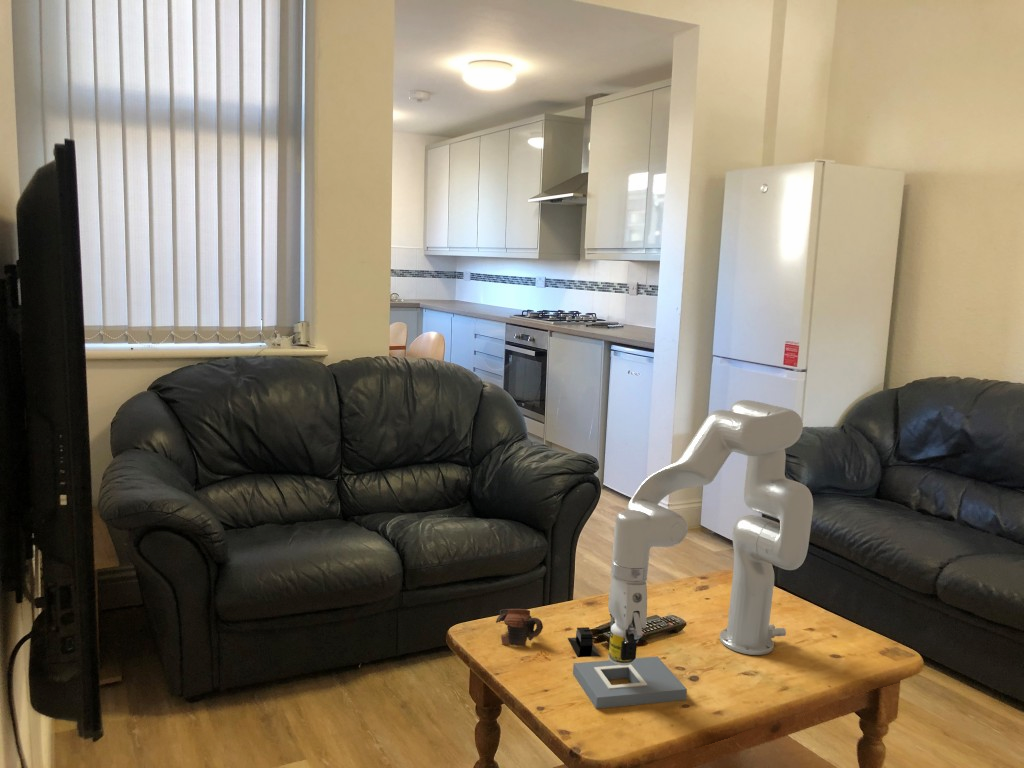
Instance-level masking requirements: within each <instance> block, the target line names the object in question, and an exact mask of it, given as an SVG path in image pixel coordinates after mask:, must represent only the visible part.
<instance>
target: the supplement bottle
mask: <svg viewBox="0 0 1024 768" xmlns="http://www.w3.org/2000/svg"><path fill="white" fill-rule="evenodd" d="M632 626H633V624H630V625H629V626H628V627H632ZM610 628H611V633H610V632H609V638H610V645H609V646H608V647H609V648H608V659H609V660H610V661H611V662H613V663H615V664H617V665H622V666H625V665H630V664H632V663H633V662H634V660H621V658H620V657H621V646H622V641H624V633H623V627H622V626H621V625H620V624H619V623H618V622H617V620H616V618H615V623H614V624H613V625H612V626H610ZM632 633H633V630H628V636H629V635H630V634H632Z"/></svg>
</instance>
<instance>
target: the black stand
mask: <svg viewBox="0 0 1024 768" xmlns="http://www.w3.org/2000/svg"><path fill="white" fill-rule="evenodd" d="M567 640H568V642H569V645H571V648H572V650H573V652H574V653H575V656H576V657H577V658H593V657H594V658H595V657H597V658H599V657H600V658H601V654H600V653H599V651H598V649H597V648H596V646H595V643H594V634H593V632H592V631H591V629H590V627H589V626H585V627H577V628H576V631H575V637H567Z"/></svg>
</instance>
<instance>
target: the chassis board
mask: <svg viewBox="0 0 1024 768" xmlns="http://www.w3.org/2000/svg"><path fill="white" fill-rule="evenodd" d="M572 667H573V668H572V675H573V676H574V678H575V679H576V680H577V682H578V684H579V685H580V687H581V688H582V690H583V691H584V693H585V694H586V696H587V697H588V699H589V700H590V702H591V703H592V705H593V707H594V708H595V709H597V710H598V709H608V708H617V707H618V708H619V707H626V706H636V705H645V704H646V705H647V704H649V705H650V704H659V703H668V702H678V701H679V702H680V701H687V693H688V689H687V687H686V686H685V685H684V684H683V683H682V682H681V681H680V680H679V678H677V676H676V675H675V674H674V673H673V672H672V671H671V669H669V667H668V666H667V665H666V664H665V663H664V662H663V660H662V659H661V658H660V657H659V656H658V655H657V656H646V657H636V658H635V659H634V662H633V663H632V664H630V665H625V666H622V665H617V664H615V663H613V662H611V661H610V660H595V661H585V662H583V661H582V662H573V666H572ZM618 679H619V680H621V679H628V681H629V682H630V683H621V684H611V682H610V680H618Z"/></svg>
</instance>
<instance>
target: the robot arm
mask: <svg viewBox="0 0 1024 768" xmlns="http://www.w3.org/2000/svg"><path fill="white" fill-rule="evenodd" d="M803 425H804V423H803V419H802V418H801V416H800V414H799V413H798V412H797V411H795V410H793V409H790V408H787V407H782V406H778V405H772V404H769V403H765V402H760V401H755V400H748V399H747V400H745V399H743V400H738V401H735V402H734V403H733V404H732V406H731V407H730V410H727V409H726V410H724V409H717V410H714V411H712V412H711V413H710V414H708V415H707V416H706V417H705V419H704V421H703V422H702V424H701V425H700V426H699V428H698V430H697V431H696V433H695V435H694V436H693V438H692V439H690V441H689V444H688V445H687V446H686V448H685V449H684V450H683V452H682V454H681V455H680V457H679V458H678V459H677V460H675V461H674V462H672V463H670V464H668V465H666V466H664V467H662V468H660V469H659V470H657V471H656V472H654V473H652V474H651V475H649V476H647V478H646V479H644V480H643V482H641V484H640V485H639V486H638V488H637V489H636V491H635V492H634V494H633V495H632V497H631V498H630V500H629V502H628V503H627V505H626V507H625V510H621V511H619V512H618V513H617V515H615V516H616V517H615V523H614V534H613V543H612V547H613V548H612V557H611V565H610V566H611V569H610V576H611V580H610V585H609V593H608V604H607V605H608V606H607V609H608V612H609V616H610V621H609V626H610V629H609V634H610V633H611V626H612V625H613V624H614V623H615V618H616V620H617V622H618V623H619V624H620V625H621V626H622V627H623V633H624V641H622V646H621V657H620V658H621V660H634V659H635V658H637V649H638V648H637V646H638V643H639V640H640V638H642V637H643V630H644V629H645V628H646V627H647V619H648V618H647V615H648V586H647V581H648V573H649V571H648V570H649V562H650V551H651V548H655V547H659V548H670V547H671V548H672V547H675V546H677V545H679V544H681V543H682V542H683V541H684V540H685V538H686V537H687V535H688V531H689V530H688V529H689V528H688V526H689V525H688V523H687V520H686V518H685V517H684V516H682V515H681V514H680V513H678V512H676V511H674V510H671V509H669V508H667V507H664V506H662V505H659V504H660V502H662V500H664V499H665V498H666V497H667V496H669V495H670V494H672V493H675V492H676V491H680V490H684V489H691V488H697V487H702V486H707V485H710V484H711V483H712V482H713V481H714V479H715V478H716V477H717V475H718V474H719V471H721V469H722V468H723V466H724V464H726V463H725V462H726V461H727V459H728V458H729V457H730V455H731V454H733V453H737V454H740V455H744V456H747V457H746V458H747V462H746V470H745V471H746V472H745V480H744V481H745V482H744V488H743V490H744V491H743V499H744V500H743V501H744V504H745V505H746V507H748V509H750V510H753V511H755V512H757V513H759V514H761V515H764V516H768V517H771V518H774V519H776V520H778V521H779V522H777V521H775V520H771V519H769V518H766V517H763V516H761V515H755V514H746V515H744V516H742V517H740V518H739V519H738V520H737V521H736V522H735V524H734V526H733V530H732V545H733V547H732V548H733V571H732V580H731V589H730V598H729V599H730V600H729V607H728V608H729V609H728V617H727V618H728V619H727V627H726V628H724V629H722V630H721V631H720V632H719V637H718V638H719V641H720V642H721V644H722V645H724V646H725V647H726V648H728V649H730V650H732V651H734V652H737V653H741V654H744V655H751V656H763V655H767V654H769V653H771V652H772V651H773V650H774V645H775V644H774V641H773V639H774V638H775V637H785V636H786V635H787V630H786V629H785V627H775V625H774V624H770V623H771V620H770V619H771V610H772V603H773V595H774V587H775V572H774V570H775V569H774V568H773V566H775V567H778V568H780V569H783V570H786V571H794V570H797V569H799V567H801V566H802V565H803V563H804V561H805V560H806V557H807V554H808V549H809V544H810V543H809V542H810V537H811V536H810V535H811V529H812V528H811V527H812V519H813V512H814V499H813V495H812V492H811V491H810V489H809V488H808V487H807V485H805V484H803V483H801V482H798V481H796V480H792V479H790V478H787V477H786V474H785V473H786V471H785V470H786V460H787V459H786V457H787V455H786V449H787V448H790V447H792V446H793V445H794V444H796V442H798V441H799V440H800V438H801V435H802V433H803V430H804V429H803V428H804V426H803ZM630 624H633V626H632V627H628V626H629V625H630ZM628 630H633V633H632V634H630V635H629V636H628ZM608 640H609V641H608V644H609V645H610V637H609V639H608Z"/></svg>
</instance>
